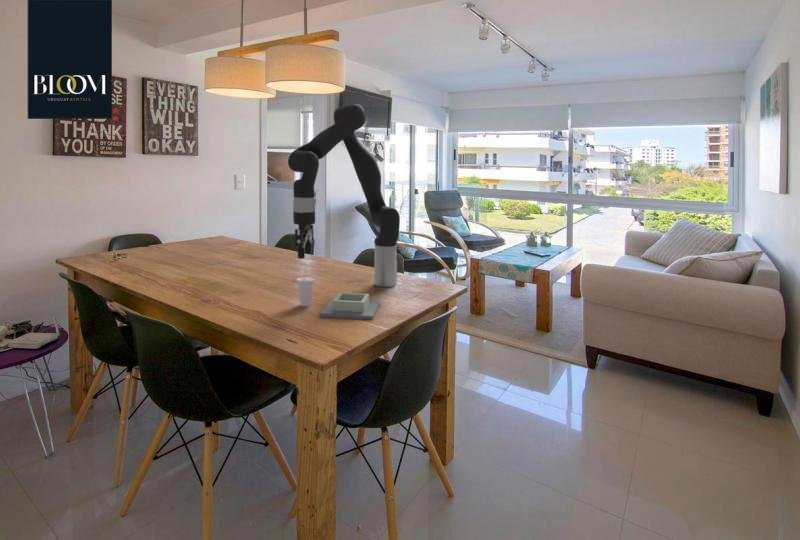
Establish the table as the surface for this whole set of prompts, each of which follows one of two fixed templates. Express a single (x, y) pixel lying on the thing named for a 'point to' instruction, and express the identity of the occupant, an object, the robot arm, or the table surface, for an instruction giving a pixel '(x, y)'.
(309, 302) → the smoothie
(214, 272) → the table surface
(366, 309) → the stand
